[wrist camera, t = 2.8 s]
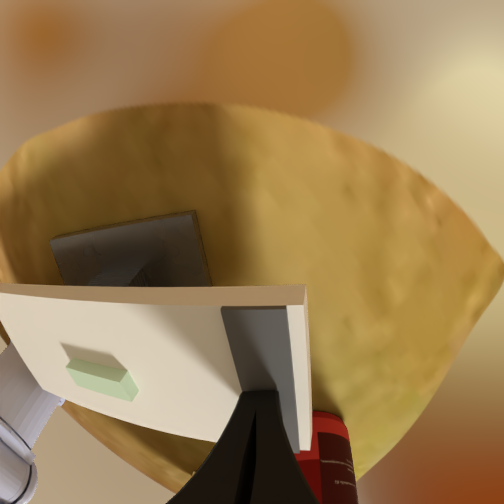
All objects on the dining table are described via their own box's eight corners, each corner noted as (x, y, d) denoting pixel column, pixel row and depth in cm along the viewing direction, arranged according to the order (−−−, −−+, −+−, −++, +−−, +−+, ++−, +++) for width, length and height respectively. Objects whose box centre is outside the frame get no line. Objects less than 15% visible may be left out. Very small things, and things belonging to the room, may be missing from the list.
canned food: (250, 446, 24) (240, 547, 14) (273, 402, 21) (267, 535, 11) (324, 454, 24) (330, 548, 14) (362, 411, 21) (382, 528, 11)
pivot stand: (117, 374, 21) (98, 407, 17) (55, 236, 16) (19, 260, 13) (236, 377, 20) (229, 420, 16) (195, 210, 15) (171, 236, 12)
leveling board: (54, 375, 19) (37, 395, 16) (3, 278, 15) (-22, 296, 13) (313, 422, 14) (308, 463, 11) (306, 275, 10) (301, 321, 8)
